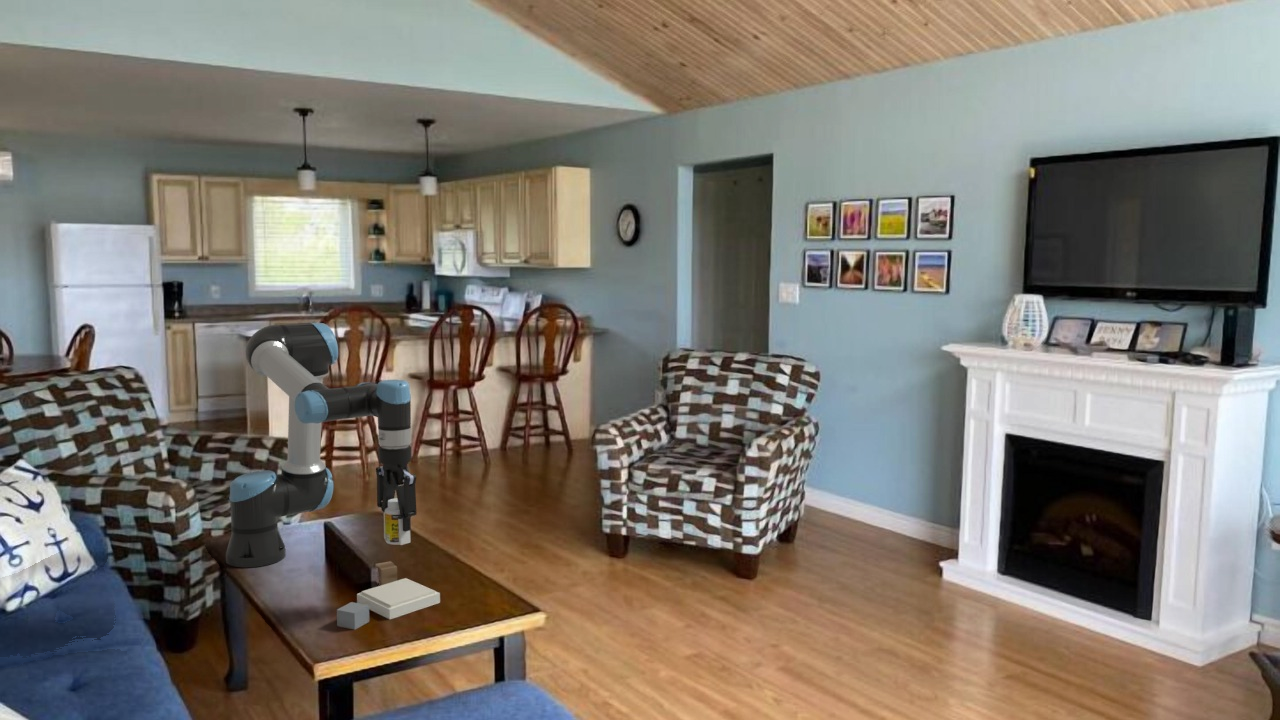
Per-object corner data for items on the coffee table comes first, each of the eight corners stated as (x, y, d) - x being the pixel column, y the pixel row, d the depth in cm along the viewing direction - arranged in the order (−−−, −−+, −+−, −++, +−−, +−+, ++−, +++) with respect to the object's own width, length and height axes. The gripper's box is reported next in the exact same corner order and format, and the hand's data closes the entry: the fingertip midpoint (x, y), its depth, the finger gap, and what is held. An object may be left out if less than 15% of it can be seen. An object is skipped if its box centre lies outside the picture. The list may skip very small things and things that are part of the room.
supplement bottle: (389, 546, 222) (388, 504, 220) (382, 540, 226) (380, 499, 225) (412, 542, 225) (411, 501, 223) (404, 536, 229) (403, 495, 228)
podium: (357, 603, 227) (356, 591, 227) (406, 587, 237) (406, 576, 237) (389, 619, 218) (389, 607, 217) (440, 602, 228) (439, 590, 228)
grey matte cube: (337, 626, 214) (336, 609, 213) (351, 618, 218) (351, 601, 218) (355, 630, 212) (354, 613, 211) (369, 622, 217) (368, 605, 216)
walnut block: (375, 582, 241) (375, 563, 240) (391, 579, 243) (390, 561, 242) (381, 588, 237) (381, 569, 236) (397, 585, 239) (397, 566, 238)
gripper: (359, 442, 226) (362, 535, 229) (403, 454, 213) (406, 553, 216) (386, 437, 231) (389, 528, 234) (431, 449, 219) (433, 545, 222)
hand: (397, 540), depth 225 cm, fingers closed on supplement bottle, 5 cm apart
